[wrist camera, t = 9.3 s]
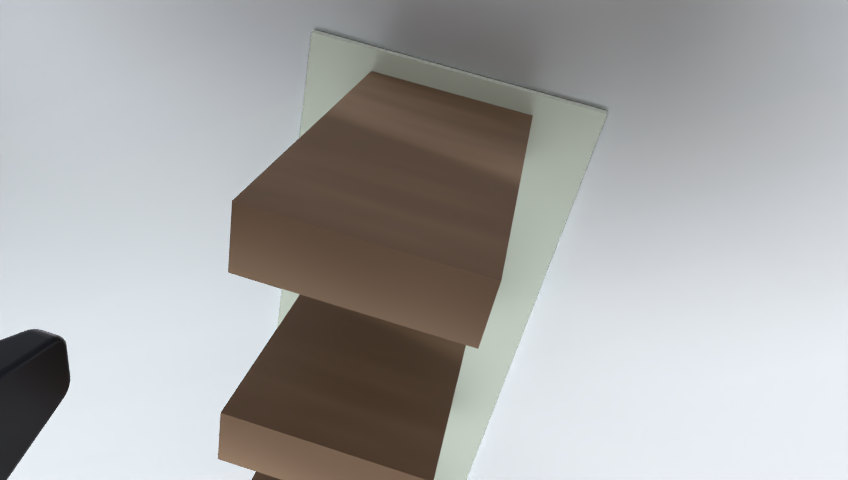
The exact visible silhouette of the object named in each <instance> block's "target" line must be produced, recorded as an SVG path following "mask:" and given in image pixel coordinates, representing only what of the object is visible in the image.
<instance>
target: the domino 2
mask: <svg viewBox="0 0 848 480" xmlns="http://www.w3.org/2000/svg"><path fill="white" fill-rule="evenodd" d="M465 347H466V345H464V344H460V343H457V342H454V341H451V340H447V339H444V338H441V337H438V336H434V335H431V334H428V333H425V332H421V331H418V330H415V329H411V328H408V327H405V326H402V325H398V324H395V323H392V322H389V321H385V320H382V319H379V318H376V317H372V316H369V315H366V314H362V313H359V312H356V311H353V310H349V309H346V308H343V307H340V306H336V305H333V304H330V303H326V302H323V301H320V300H317V299H313V298H310V297H307V296H304V295H299V296H298V298H297V299H296V301H295V302H294V304H293V305H292V307H291V308H290V310H289V311H288V313H287V314H286V316H285V317H284V319H283V320H282V322H281V323H280V325H279V326H278V328H277V329H276V331H275V332H274V334H273V335H272V337H271V338H270V340H269V341H268V343H267V344H266V346H265V347H264V349H263V350H262V352H261V353H260V355H259V356H258V358H257V359H256V361H255V362H254V364H253V365H252V367H251V368H250V370H249V371H248V373H247V374H246V376H245V377H244V379H243V380H242V382H241V383H240V385H239V386H238V388H237V389H236V391H235V392H234V394H233V395H232V397H231V398H230V400H229V401H228V403H227V404H226V406H225V407H224V409H223V410H222V412H221V417H220V434H219V451H218V459H220V460H223V461H226V462H229V463H232V464H235V465H238V466H241V467H244V468H247V469H250V470H253V471H257V472H260V473H263V474H266V475H269V476H272V477H275V478H278V479H281V480H434V477H435V473H436V468H437V464H438V460H439V456H440V452H441V447H442V443H443V439H444V435H445V431H446V427H447V422H448V418H449V414H450V410H451V406H452V402H453V397H454V393H455V389H456V385H457V381H458V377H459V372H460V368H461V364H462V360H463V356H464V352H465Z"/></svg>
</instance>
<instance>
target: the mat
mask: <svg viewBox="0 0 848 480" xmlns="http://www.w3.org/2000/svg"><path fill="white" fill-rule="evenodd" d="M371 71H374V72H377V73H381V74H384V75H388V76H392V77H395V78H399V79H403V80H406V81H410V82H413V83H417V84H421V85H424V86H428V87H431V88H435V89H439V90H442V91H446V92H449V93H453V94H457V95H460V96H464V97H468V98H471V99H475V100H478V101H482V102H486V103H489V104H493V105H496V106H500V107H504V108H507V109H511V110H514V111H518V112H522V113H525V114H529V115H532V116H533V117H532V123H531V128H530V133H529V138H528V144H527V149H526V154H525V159H524V165H523V170H522V175H521V180H520V186H519V191H518V196H517V201H516V207H515V212H514V217H513V222H512V227H511V233H510V238H509V243H508V248H507V254H506V259H505V264H504V269H503V275H502V280H501V283H500V286H499V289H498V292H497V295H496V298H495V301H494V304H493V307H492V310H491V313H490V316H489V319H488V322H487V325H486V328H485V331H484V334H483V336H482V339H481V342H480V345H479V348H478V349H477V348H474V347H470V346H467V345H466V347H465V352H464V356H463V360H462V364H461V368H460V372H459V377H458V381H457V385H456V389H455V393H454V397H453V402H452V406H451V410H450V414H449V418H448V422H447V427H446V431H445V435H444V439H443V443H442V447H441V452H440V456H439V460H438V464H437V468H436V473H435V477H434V480H466V479H467V476H468V474H469V471H470V469H471V466H472V463H473V461H474V458H475V456H476V453H477V451H478V448H479V445H480V443H481V440H482V438H483V435H484V432H485V430H486V427H487V425H488V422H489V419H490V417H491V414H492V412H493V409H494V407H495V404H496V401H497V399H498V396H499V394H500V391H501V388H502V386H503V383H504V381H505V378H506V376H507V373H508V370H509V368H510V365H511V363H512V360H513V357H514V355H515V352H516V350H517V347H518V344H519V342H520V339H521V337H522V334H523V332H524V329H525V326H526V324H527V321H528V319H529V316H530V313H531V311H532V308H533V306H534V303H535V300H536V298H537V295H538V293H539V290H540V288H541V285H542V282H543V280H544V277H545V275H546V272H547V269H548V267H549V264H550V262H551V259H552V256H553V254H554V251H555V249H556V246H557V244H558V241H559V238H560V236H561V233H562V231H563V228H564V225H565V223H566V220H567V218H568V215H569V212H570V210H571V207H572V205H573V202H574V200H575V197H576V194H577V192H578V189H579V187H580V184H581V181H582V179H583V176H584V174H585V171H586V168H587V166H588V163H589V161H590V158H591V156H592V153H593V150H594V148H595V145H596V143H597V140H598V137H599V135H600V132H601V130H602V127H603V124H604V122H605V119H606V117H607V111H606V110H602V109H598V108H595V107H591V106H588V105H584V104H580V103H577V102H573V101H570V100H566V99H562V98H559V97H555V96H552V95H548V94H544V93H541V92H537V91H533V90H530V89H526V88H523V87H519V86H515V85H512V84H508V83H505V82H501V81H497V80H494V79H490V78H487V77H483V76H479V75H476V74H472V73H469V72H465V71H461V70H458V69H454V68H450V67H447V66H443V65H440V64H436V63H432V62H429V61H425V60H422V59H418V58H414V57H411V56H407V55H404V54H400V53H396V52H393V51H389V50H386V49H382V48H378V47H375V46H371V45H367V44H364V43H360V42H357V41H353V40H349V39H346V38H342V37H339V36H335V35H331V34H328V33H324V32H321V31H317V30H314V31H312V32H311V40H310V49H309V57H308V66H307V75H306V84H305V92H304V101H303V110H302V118H301V127H300V136H299V138H300V137H301V136H302V135H303V134H304V133H305V132H306V131H308V130H309V129H310V128H311V127H312V126H313V125H314V124H315V123H316V122H317V121H318V120H319V119H320V118H321V117H323V116H324V115H325V114H326V113H327V112H328V111H329V110H330V109H331V108H332V107H333V106H334V105H335V104H336V103H337V102H339V101H340V100H341V99H342V98H343V97H344V96H345V95H346V94H347V93H348V92H349V91H350V90H351V89H352V88H354V87H355V86H356V85H357V84H358V83H359V82H360V81H361V80H362V79H363V78H364V77H365V76H366V75H367V74H368V73H370V72H371ZM299 295H300V294H297V293H294V292H291V291H287V290H284V289H282V292H281V301H280V310H279V318H278V326H279V325H280V323H281V322H282V320H283V319H284V317H285V316H286V314H287V313H288V311H289V310H290V308H291V307H292V305H293V304H294V302H295V301H296V299H297V298H298V296H299ZM277 328H278V327H277Z"/></svg>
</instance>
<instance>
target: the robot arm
mask: <svg viewBox="0 0 848 480" xmlns="http://www.w3.org/2000/svg"><path fill="white" fill-rule="evenodd" d="M69 384H70V371H69V363H68V354H67V346H66V342H65V340H64V339H63V338H62V337H61V336H58V335H55V334H52V333H49V332H46V331H43V330H39V329H31V330H27V331H24V332H21V333H18V334H16V335H13V336H10V337H7V338H5V339H2V340H0V480H7V479H8V477H9V476H10V475H11V473H12V472H13V470H14V469H15V467H16V466H17V464H18V463H19V462H20V460H21V459H22V457H23V456H24V454H25V453H26V451H27V450H28V449H29V447H30V446H31V444H32V443H33V441H34V440H35V438H36V437H37V436H38V434H39V433H40V431H41V430H42V428H43V427H44V425H45V424H46V423H47V421H48V420H49V418H50V417H51V415H52V414H53V412H54V411H55V410H56V408H57V407H58V405H59V404H60V402H61V401H62V399H63V398H64V396H65V395H66V393H67V391H68V388H69Z"/></svg>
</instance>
